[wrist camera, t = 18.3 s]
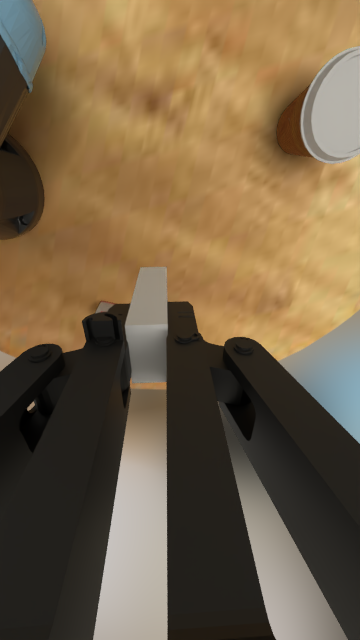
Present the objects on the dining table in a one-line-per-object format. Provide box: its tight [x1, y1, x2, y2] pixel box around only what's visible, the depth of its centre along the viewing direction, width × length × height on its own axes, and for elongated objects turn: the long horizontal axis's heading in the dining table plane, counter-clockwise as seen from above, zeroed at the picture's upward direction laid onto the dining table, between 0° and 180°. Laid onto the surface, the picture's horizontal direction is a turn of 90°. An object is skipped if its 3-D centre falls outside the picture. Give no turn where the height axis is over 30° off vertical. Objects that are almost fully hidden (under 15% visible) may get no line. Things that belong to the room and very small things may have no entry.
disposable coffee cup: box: [277, 46, 360, 164], centre depth 30 cm, size 10×10×12 cm
